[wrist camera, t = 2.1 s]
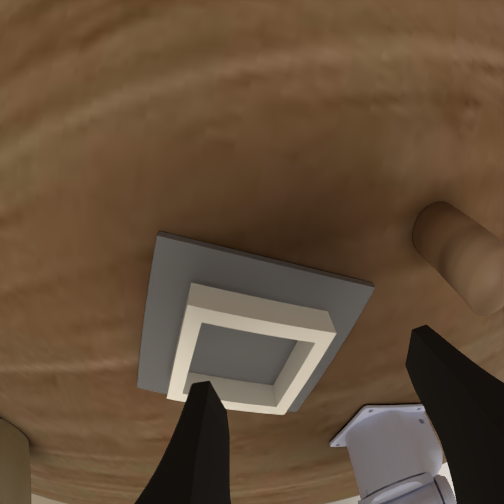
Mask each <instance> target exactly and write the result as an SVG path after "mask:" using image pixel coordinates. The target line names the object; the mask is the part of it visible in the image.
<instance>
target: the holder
mask: <svg viewBox="0 0 504 504" xmlns="http://www.w3.org/2000/svg"><path fill="white" fill-rule="evenodd" d="M374 289H375V286H374V285H373V283H371V282H367V281H363V280H358V279H354V278H350V277H346V276H342V275H338V274H334V273H330V272H325V271H321V270H317V269H313V268H309V267H305V266H301V265H296V264H292V263H288V262H284V261H280V260H276V259H272V258H268V257H264V256H259V255H255V254H251V253H247V252H243V251H239V250H235V249H231V248H226V247H222V246H218V245H214V244H210V243H206V242H202V241H198V240H194V239H190V238H185V237H181V236H177V235H173V234H169V233H165V232H161V231H159V233H158V235H157V239H156V244H155V250H154V256H153V262H152V268H151V274H150V280H149V287H148V294H147V301H146V308H145V315H144V323H143V332H142V340H141V350H140V360H139V371H138V382H137V388H141V389H146V390H150V391H154V392H159V393H164V394H167V399H172V400H177V401H182V402H186V399H187V396H188V393H189V390H190V387H191V385H192V384H193V383H197V382H203V381H210V382H211V384H212V386H213V387H214V389H215V391H216V393H217V395H218V396H219V398H220V400H221V402H222V403H223V405H224V407H225V409H232V410H239V411H248V412H257V413H267V414H278V415H284V414H285V413H286V411H289V412H297V411H298V409H299V408H300V406H301V405H302V404H303V402H304V401H305V399H306V398H307V397H308V395H309V394H310V392H311V391H312V390H313V388H314V387H315V385H316V384H317V382H318V381H319V379H320V378H321V376H322V375H323V373H324V372H325V370H326V369H327V367H328V366H329V364H330V363H331V361H332V360H333V358H334V357H335V355H336V353H337V352H338V350H339V349H340V347H341V345H342V344H343V342H344V341H345V339H346V337H347V336H348V334H349V332H350V331H351V329H352V328H353V326H354V324H355V322H356V321H357V319H358V317H359V316H360V314H361V312H362V311H363V309H364V307H365V305H366V304H367V302H368V300H369V298H370V296H371V295H372V293H373V291H374Z"/></svg>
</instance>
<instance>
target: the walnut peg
mask: <svg viewBox="0 0 504 504" xmlns="http://www.w3.org/2000/svg"><path fill="white" fill-rule="evenodd" d="M412 239H413V244H414V246H415V248H416V250H417V251H418V252H419V253H420V254H421V255H422V256H423V257H424V258H425V259H426V260H427V261H428V262H429V263H430V264H431V265H432V266H433V267H434V268H435V269H436V270H437V271H438V272H439V273H440V274H441V276H442V277H443V278H444V279H445V280H446V281H447V282H448V283H449V284H450V285H451V286H452V287H453V288H454V290H455V291H456V292H457V293H458V294H459V295H460V296H461V297H462V299H463V300H464V301H465V302H466V303H467V304H468V305H469V307H470V308H471V309H472V310H473V311H474V312H475V313H476V314H477V315H478V316H488V315H491V314H493V313H495V312H496V311H498V310H499V309H501V308H502V307H503V306H504V242H503V241H502V240H500V239H499V238H498V237H496V236H495V235H494V234H492V233H491V232H490V231H488V230H487V229H486V228H484V227H483V226H481V225H480V224H479V223H477V222H476V221H474V220H473V219H471V218H470V217H468V216H467V215H466V214H464V213H463V212H461V211H460V210H458V209H457V208H455V207H454V206H452V205H451V204H449V203H447V202H435V203H433V204H431V205H429V206H427V207H426V208H425V209H424V210H423V211H422V212H421V213H420V215H419V216H418V218H417V220H416V222H415V224H414V228H413V233H412Z"/></svg>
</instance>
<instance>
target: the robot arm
mask: <svg viewBox="0 0 504 504" xmlns="http://www.w3.org/2000/svg"><path fill="white" fill-rule="evenodd" d="M406 368H407V371H408V373H409V376H410V379H411V381H412V384H413V386H414V389H415V391H416V393H417V395H418V397H419V399H420V401H421V403H422V404H411V405H367V406H364V407H363V408H362V409H361V410H360V411H359V412H358V413H357V414H356V416H355V417H354V418H353V419H352V420H351V421H350V422H349V423H348V424H347V425H346V426H345V427H344V429H343V430H342V431H341V432H340V433H339V434H338V435H337V436H336V437H335V438H334V439H333V440H332V441H331V442H330V443H329V444H330V446H331V447H343V446H347V449H348V453H349V456H350V460H351V463H352V467H353V471H354V474H355V478H356V482H357V486H358V489H359V493H360V497H361V500H360V501H358V504H504V383H503V382H501V381H500V380H498V379H497V378H495V377H494V376H492V375H491V374H489V373H488V372H486V371H485V370H484V369H482V368H481V367H479V366H478V365H477V364H475V363H474V362H473V361H471V360H470V359H469V358H467V357H466V356H465V355H464V354H462V353H461V352H460V351H458V350H457V349H456V348H455V347H454V346H452V345H451V344H450V343H449V342H447V341H446V340H445V339H444V338H442V337H441V336H440V335H439V334H438V333H436V332H435V331H434V330H433V329H431V328H430V327H429V326H428V325H424V326H421V327H418V328H415V329H413V330H412V333H411V338H410V344H409V350H408V355H407V360H406ZM425 410H426V412H427V414H428V416H429V418H430V420H431V422H432V424H433V426H434V428H435V430H436V432H437V434H438V437H439V439H440V441H441V444H442V447H443V450H444V453H445V456H446V459H447V463H448V466H449V470H450V474H451V477H452V482H453V486H454V491H455V496H456V500H455V497H454V494H453V491H452V489H451V487H450V484H449V482H448V481H447V479H446V477H444V476H440V475H437V473H438V472H439V470H440V468H441V465H442V450H441V447H440V445H439V442H438V440H437V438H436V436H435V434H434V431H433V429H432V427H431V425H430V423H429V421H428V419H427V416H426V414H425V412H424V411H425ZM456 502H457V503H456ZM134 504H231V501H230V487H229V428H228V419H227V411H226V409H225V407H224V405H223V403H222V402H221V400H220V398H219V396H218V395H217V393H216V391H215V389H214V387H213V386H212V384H211V382H210V381H203V382H197V383H193V384H192V385H191V387H190V390H189V393H188V396H187V399H186V402H185V405H184V408H183V411H182V413H181V416H180V419H179V421H178V424H177V426H176V428H175V431H174V433H173V436H172V438H171V440H170V443H169V445H168V447H167V449H166V451H165V453H164V455H163V457H162V459H161V461H160V463H159V465H158V467H157V469H156V471H155V473H154V474H153V476H152V478H151V479H150V481H149V483H148V484H147V486H146V487H145V489H144V490H143V492H142V493H141V495H140V496H139V498H138V499H137V501H136V502H135V503H134Z"/></svg>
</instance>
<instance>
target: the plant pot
mask: <svg viewBox="0 0 504 504" xmlns="http://www.w3.org/2000/svg"><path fill="white" fill-rule="evenodd" d="M0 504H31V469H30V452H29V441H28V439H27V438H26V436H25V435H24V434H23V433H22V432H21V431H19V430H18V429H17V428H16V427H14V426H13V425H11V424H10V423H8V422H7V421H5V420H3V419H1V418H0Z"/></svg>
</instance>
